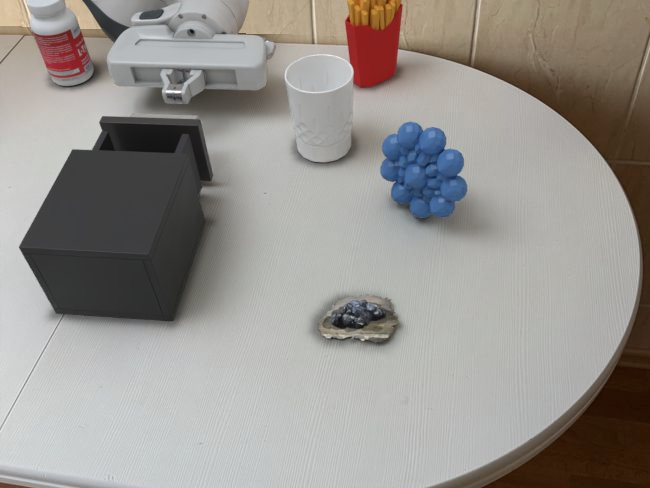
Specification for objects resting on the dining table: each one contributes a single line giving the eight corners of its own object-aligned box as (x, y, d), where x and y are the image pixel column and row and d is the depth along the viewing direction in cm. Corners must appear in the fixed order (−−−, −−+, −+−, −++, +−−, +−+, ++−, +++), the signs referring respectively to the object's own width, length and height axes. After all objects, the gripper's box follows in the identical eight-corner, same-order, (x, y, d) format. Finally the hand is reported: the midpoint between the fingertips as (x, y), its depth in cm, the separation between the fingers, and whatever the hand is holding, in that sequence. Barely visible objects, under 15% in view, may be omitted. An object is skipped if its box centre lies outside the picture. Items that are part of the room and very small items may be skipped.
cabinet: (100, 217, 82) (72, 148, 74) (206, 222, 80) (188, 153, 73) (55, 313, 73) (18, 247, 65) (173, 321, 72) (148, 254, 64)
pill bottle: (96, 82, 99) (69, 4, 90) (52, 91, 98) (20, 13, 89) (93, 60, 102) (66, -18, 94) (50, 68, 102) (20, -10, 93)
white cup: (360, 129, 89) (358, 55, 81) (350, 168, 85) (347, 94, 77) (299, 125, 90) (292, 52, 83) (286, 163, 86) (277, 90, 78)
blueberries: (405, 341, 69) (405, 329, 67) (324, 357, 68) (323, 345, 66) (387, 291, 73) (387, 278, 71) (311, 306, 72) (309, 293, 70)
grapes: (484, 220, 78) (499, 128, 69) (444, 251, 76) (454, 160, 66) (407, 173, 84) (411, 82, 74) (367, 201, 81) (366, 110, 71)
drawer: (132, 149, 88) (113, 94, 81) (221, 153, 86) (209, 96, 80) (85, 250, 77) (59, 195, 71) (185, 256, 76) (168, 200, 70)
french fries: (360, 93, 94) (358, 4, 85) (342, 80, 96) (338, -8, 87) (408, 69, 97) (411, -20, 87) (389, 57, 99) (391, -31, 89)
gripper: (280, 61, 95) (262, 124, 86) (134, 58, 97) (103, 118, 89) (275, 16, 90) (255, 77, 81) (121, 13, 92) (86, 72, 84)
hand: (174, 98), depth 85 cm, fingers closed
